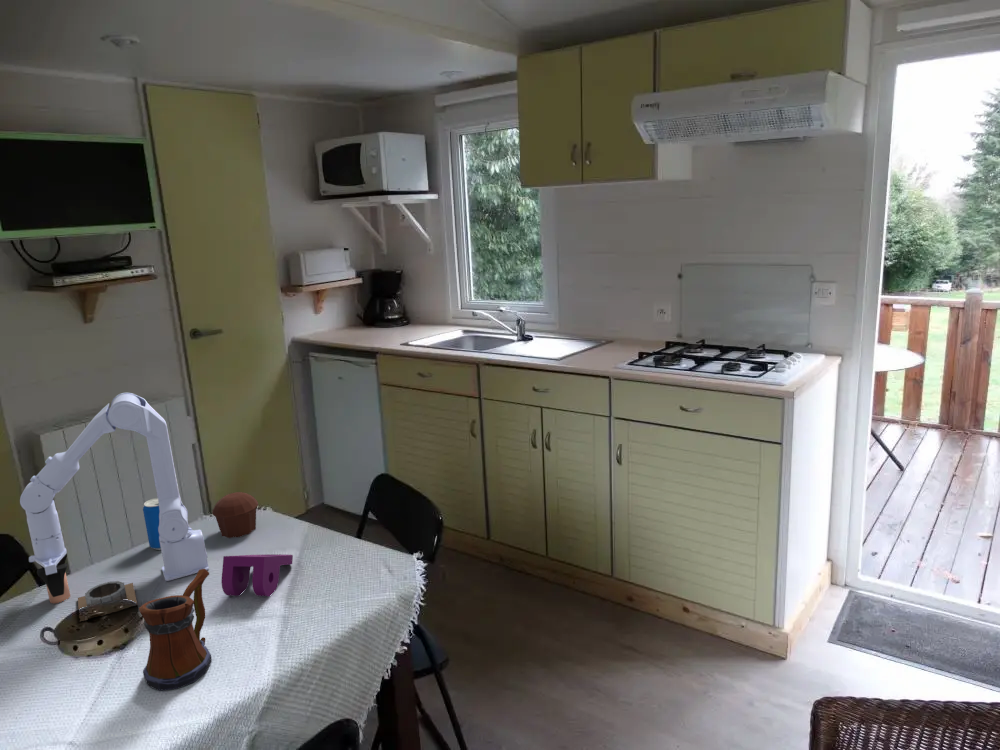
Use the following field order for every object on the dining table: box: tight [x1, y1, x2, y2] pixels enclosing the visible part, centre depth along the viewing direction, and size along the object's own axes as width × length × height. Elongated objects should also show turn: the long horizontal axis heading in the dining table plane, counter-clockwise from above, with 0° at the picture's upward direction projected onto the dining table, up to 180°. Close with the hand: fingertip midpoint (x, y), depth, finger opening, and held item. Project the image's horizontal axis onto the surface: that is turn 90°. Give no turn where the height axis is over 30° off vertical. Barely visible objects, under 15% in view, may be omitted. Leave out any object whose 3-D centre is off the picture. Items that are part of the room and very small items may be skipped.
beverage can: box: [142, 497, 161, 551], centre depth 183 cm, size 6×6×12 cm
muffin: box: [211, 491, 259, 539], centre depth 190 cm, size 12×11×10 cm
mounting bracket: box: [221, 553, 294, 597], centre depth 162 cm, size 9×8×18 cm
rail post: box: [45, 572, 71, 604], centre depth 160 cm, size 4×4×7 cm
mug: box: [138, 569, 213, 692], centre depth 133 cm, size 18×12×15 cm, turn 171°
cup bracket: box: [77, 580, 138, 609], centre depth 157 cm, size 11×11×3 cm
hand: (58, 590), depth 160 cm, fingers closed on rail post, 4 cm apart
